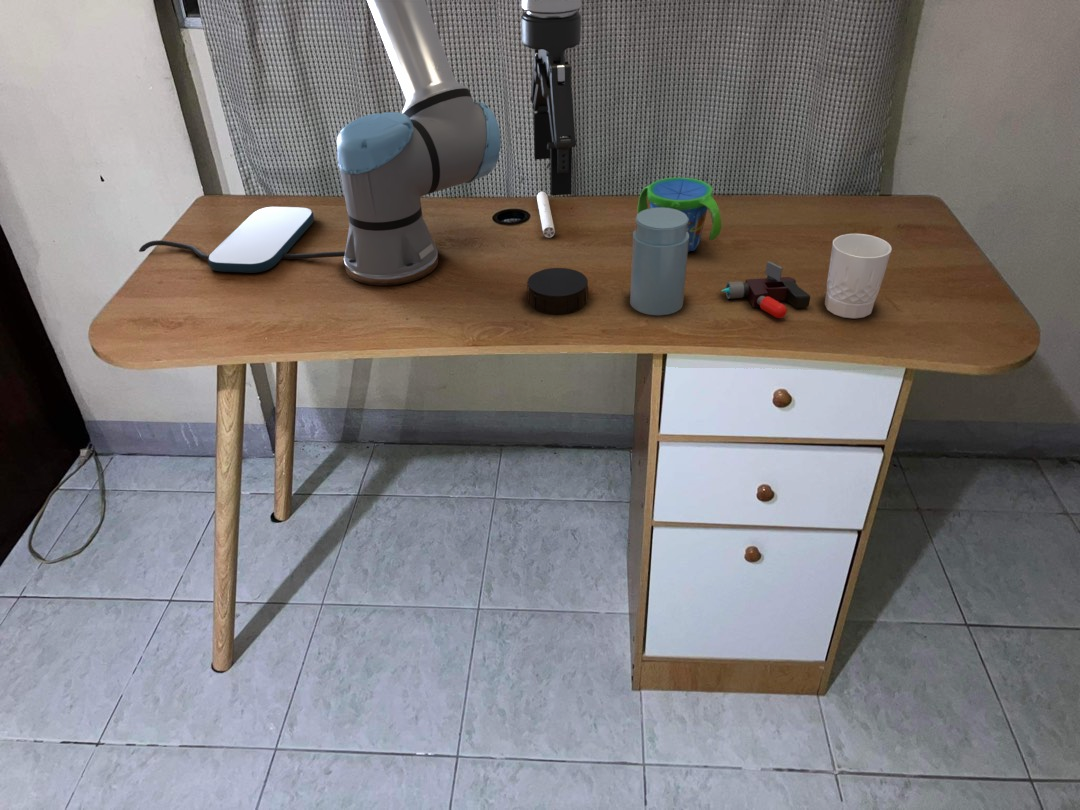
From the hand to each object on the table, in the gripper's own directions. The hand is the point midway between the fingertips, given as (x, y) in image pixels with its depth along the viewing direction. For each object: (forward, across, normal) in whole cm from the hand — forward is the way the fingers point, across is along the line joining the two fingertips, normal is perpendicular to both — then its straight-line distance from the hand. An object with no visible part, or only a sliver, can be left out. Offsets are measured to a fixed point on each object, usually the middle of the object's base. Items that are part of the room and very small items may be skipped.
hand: (552, 175), depth 117 cm
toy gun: (+19, +10, +30) cm, 37 cm away
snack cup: (+19, -12, +24) cm, 33 cm away
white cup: (+19, +13, +42) cm, 48 cm away
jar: (+19, +6, +15) cm, 25 cm away
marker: (+20, -29, +4) cm, 35 cm away
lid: (+16, +2, 0) cm, 17 cm away
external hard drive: (+20, -29, -46) cm, 58 cm away
